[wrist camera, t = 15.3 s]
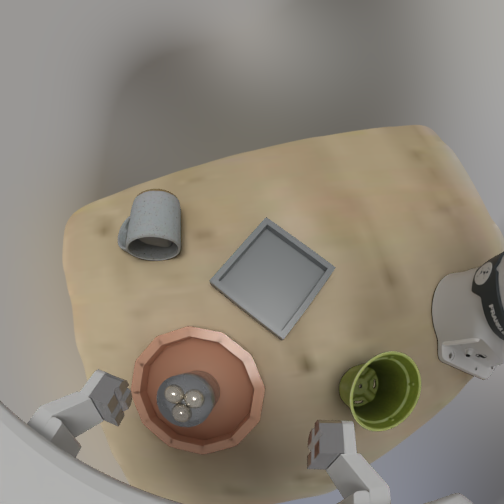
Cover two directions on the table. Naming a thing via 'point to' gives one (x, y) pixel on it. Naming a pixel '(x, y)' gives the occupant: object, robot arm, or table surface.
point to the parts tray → (273, 277)
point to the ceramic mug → (152, 226)
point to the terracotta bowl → (216, 364)
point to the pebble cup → (188, 398)
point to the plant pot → (382, 390)
